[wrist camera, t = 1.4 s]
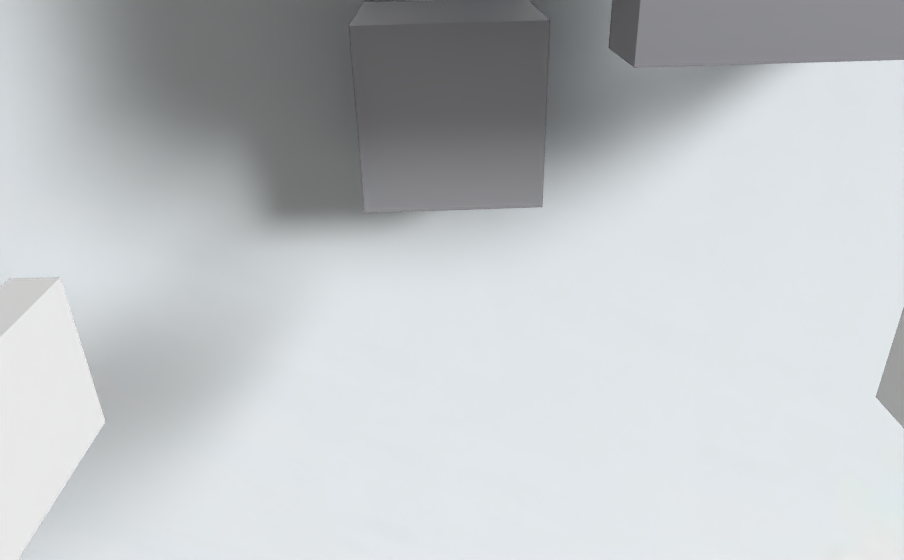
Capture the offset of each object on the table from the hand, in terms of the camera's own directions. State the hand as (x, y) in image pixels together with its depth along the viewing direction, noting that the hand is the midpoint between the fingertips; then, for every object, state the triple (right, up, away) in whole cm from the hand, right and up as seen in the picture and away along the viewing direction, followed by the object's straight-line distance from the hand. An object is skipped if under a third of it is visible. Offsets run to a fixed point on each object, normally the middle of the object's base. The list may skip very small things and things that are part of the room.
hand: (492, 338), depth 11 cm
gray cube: (-1, +9, +17) cm, 19 cm away
